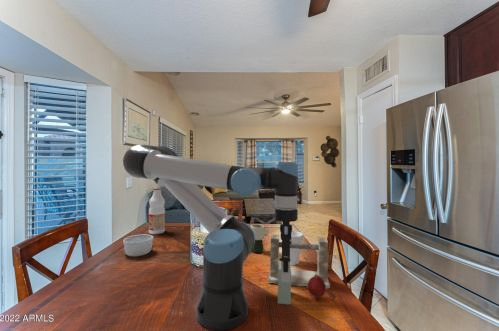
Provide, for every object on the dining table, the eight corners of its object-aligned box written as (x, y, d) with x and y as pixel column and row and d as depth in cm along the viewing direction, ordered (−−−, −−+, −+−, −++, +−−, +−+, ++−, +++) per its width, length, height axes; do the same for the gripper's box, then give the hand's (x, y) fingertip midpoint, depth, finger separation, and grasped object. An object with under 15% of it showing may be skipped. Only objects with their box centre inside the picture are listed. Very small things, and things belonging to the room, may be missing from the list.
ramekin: (131, 260, 107) (131, 244, 107) (117, 253, 115) (118, 238, 115) (158, 251, 118) (158, 237, 118) (144, 245, 126) (144, 232, 126)
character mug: (268, 249, 124) (268, 224, 123) (268, 254, 116) (268, 228, 116) (247, 248, 124) (247, 223, 124) (245, 253, 117) (246, 227, 117)
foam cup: (278, 263, 106) (278, 234, 106) (285, 256, 114) (285, 229, 114) (299, 268, 102) (299, 238, 101) (304, 260, 110) (305, 232, 110)
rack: (268, 283, 89) (269, 240, 88) (270, 271, 98) (270, 232, 98) (329, 289, 85) (330, 244, 85) (325, 276, 95) (326, 236, 95)
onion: (312, 291, 84) (312, 268, 84) (328, 297, 80) (328, 273, 80) (304, 298, 79) (305, 274, 79) (321, 305, 75) (321, 280, 75)
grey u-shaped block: (277, 303, 76) (278, 269, 76) (278, 290, 84) (279, 259, 84) (290, 304, 75) (291, 270, 75) (290, 291, 83) (290, 260, 83)
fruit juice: (160, 234, 144) (160, 188, 144) (145, 234, 145) (146, 188, 145) (167, 230, 154) (167, 187, 153) (153, 229, 155) (153, 186, 154)
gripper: (299, 216, 66) (299, 292, 67) (296, 202, 91) (295, 257, 91) (272, 215, 68) (272, 290, 68) (276, 201, 92) (276, 256, 92)
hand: (285, 271), depth 80 cm, fingers open, 13 cm apart
